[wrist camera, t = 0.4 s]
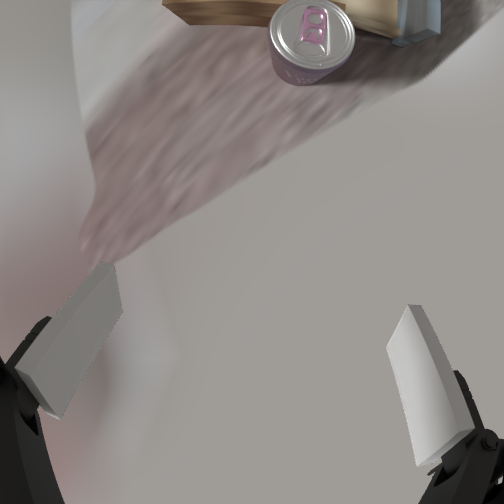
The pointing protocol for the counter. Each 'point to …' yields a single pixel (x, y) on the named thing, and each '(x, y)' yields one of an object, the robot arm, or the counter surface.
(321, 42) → the beverage can
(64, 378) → the robot arm
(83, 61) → the counter surface
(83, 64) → the counter surface
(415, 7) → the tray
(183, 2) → the caddy
